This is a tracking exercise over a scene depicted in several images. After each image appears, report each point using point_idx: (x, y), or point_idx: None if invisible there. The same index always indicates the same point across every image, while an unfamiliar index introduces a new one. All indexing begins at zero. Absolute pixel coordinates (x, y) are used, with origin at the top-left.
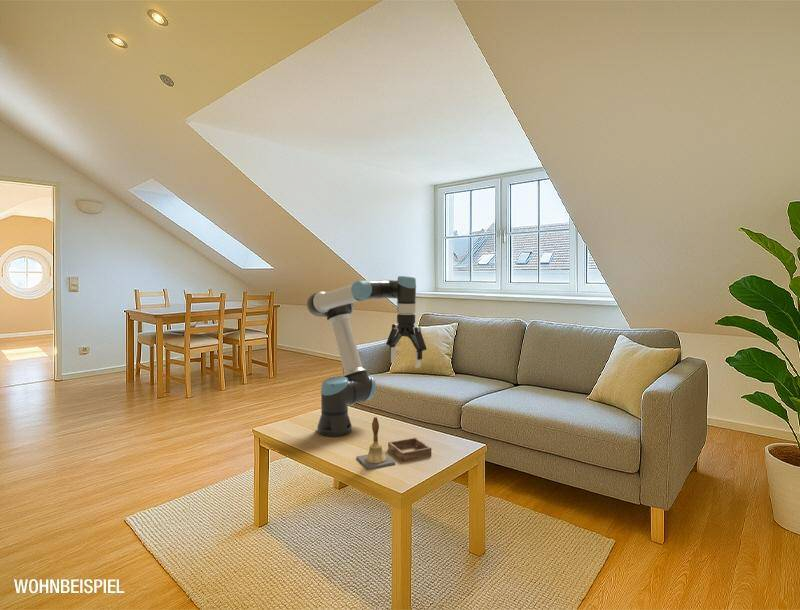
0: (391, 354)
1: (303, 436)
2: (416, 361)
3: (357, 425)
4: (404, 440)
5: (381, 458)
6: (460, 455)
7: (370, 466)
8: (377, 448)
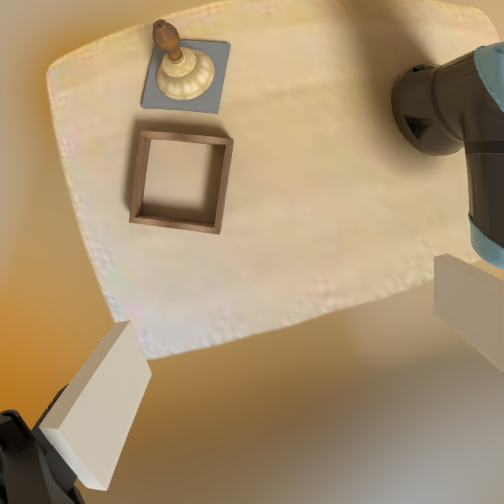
0: (493, 281)
1: (426, 37)
2: (91, 354)
3: (434, 183)
4: (219, 191)
5: (160, 75)
6: (106, 281)
7: (157, 46)
8: (162, 59)
